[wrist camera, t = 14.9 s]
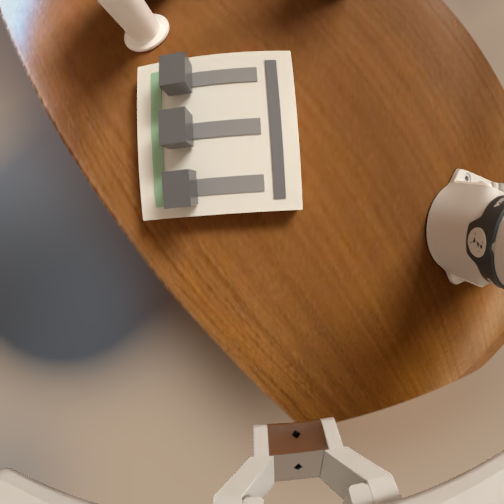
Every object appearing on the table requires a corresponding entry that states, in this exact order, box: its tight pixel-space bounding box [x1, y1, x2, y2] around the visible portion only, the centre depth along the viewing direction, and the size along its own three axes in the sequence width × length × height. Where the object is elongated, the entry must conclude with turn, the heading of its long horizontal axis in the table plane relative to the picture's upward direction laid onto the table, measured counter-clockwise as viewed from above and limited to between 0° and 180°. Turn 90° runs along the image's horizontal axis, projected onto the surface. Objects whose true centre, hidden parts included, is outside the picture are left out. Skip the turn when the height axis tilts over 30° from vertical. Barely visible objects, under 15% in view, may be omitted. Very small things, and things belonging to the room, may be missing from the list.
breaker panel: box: [137, 51, 303, 221], centre depth 35 cm, size 20×21×3 cm
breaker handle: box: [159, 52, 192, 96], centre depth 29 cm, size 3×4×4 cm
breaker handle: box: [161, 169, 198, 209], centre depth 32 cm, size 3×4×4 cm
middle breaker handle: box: [158, 106, 194, 149], centre depth 31 cm, size 3×4×4 cm
